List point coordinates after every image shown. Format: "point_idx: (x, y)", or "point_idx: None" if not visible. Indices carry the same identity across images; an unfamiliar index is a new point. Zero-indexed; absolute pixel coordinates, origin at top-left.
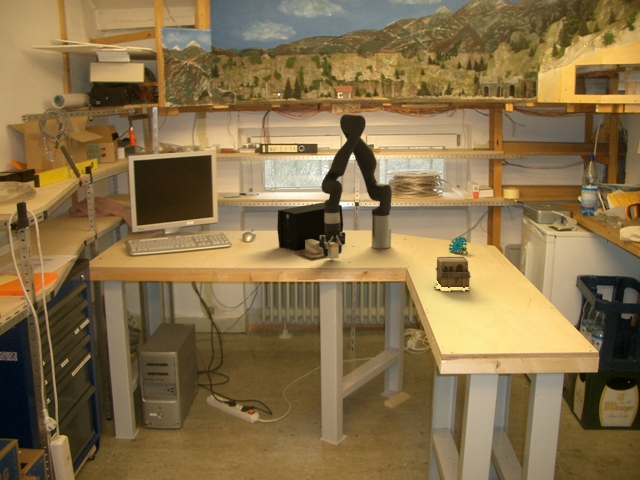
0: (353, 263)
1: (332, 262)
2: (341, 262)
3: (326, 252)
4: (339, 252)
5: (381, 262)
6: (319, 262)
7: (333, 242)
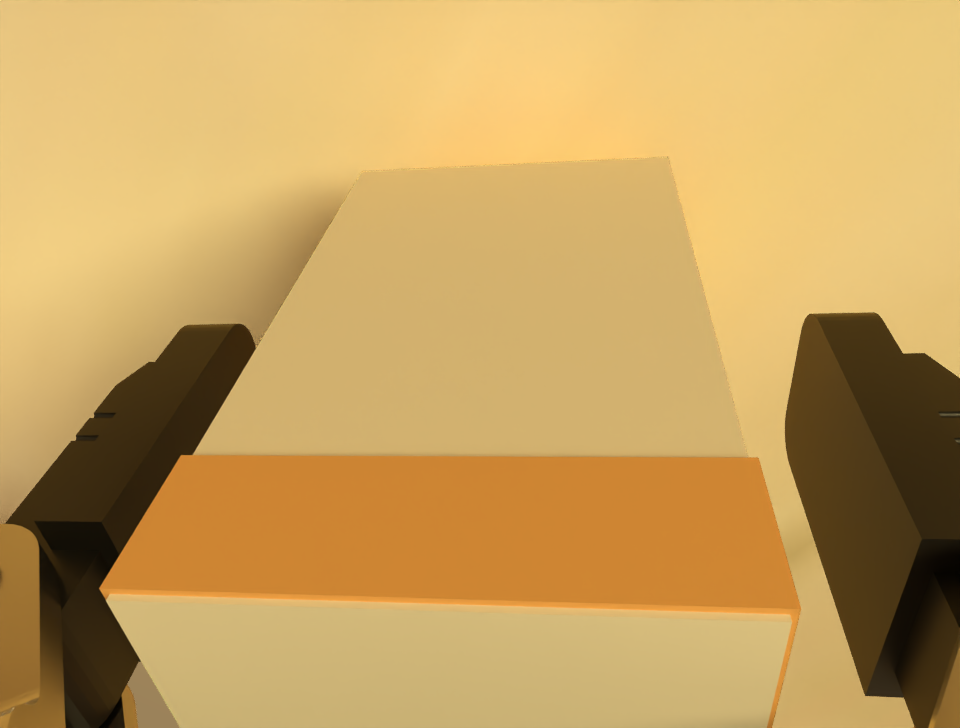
0: None
1: None
2: None
3: None
4: (796, 460)
5: None
6: (104, 235)
7: (769, 671)
